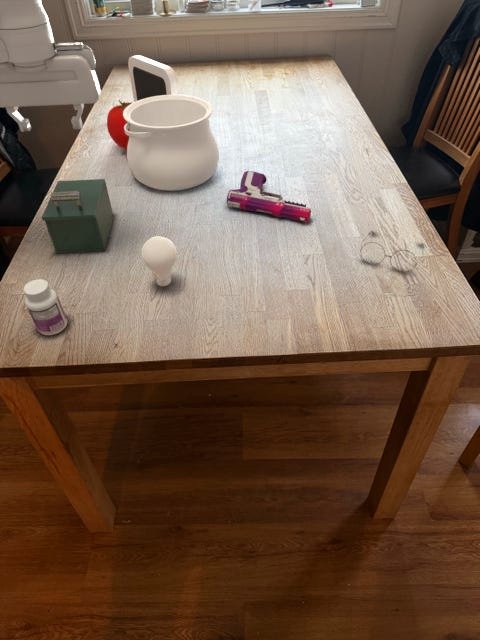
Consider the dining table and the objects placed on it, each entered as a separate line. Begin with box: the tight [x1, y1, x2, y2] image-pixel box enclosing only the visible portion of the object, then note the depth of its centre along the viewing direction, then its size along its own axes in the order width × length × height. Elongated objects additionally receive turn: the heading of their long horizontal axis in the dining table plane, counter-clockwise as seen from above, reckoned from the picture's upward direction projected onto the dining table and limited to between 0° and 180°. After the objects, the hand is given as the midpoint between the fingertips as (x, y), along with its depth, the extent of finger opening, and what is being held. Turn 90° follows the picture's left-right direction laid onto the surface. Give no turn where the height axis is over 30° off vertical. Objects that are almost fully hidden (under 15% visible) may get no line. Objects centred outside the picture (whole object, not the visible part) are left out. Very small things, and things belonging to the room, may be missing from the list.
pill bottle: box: [23, 278, 68, 336], centre depth 79 cm, size 5×5×10 cm
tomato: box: [106, 99, 134, 151], centre depth 131 cm, size 12×12×13 cm
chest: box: [44, 181, 114, 254], centre depth 101 cm, size 15×11×9 cm
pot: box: [123, 94, 220, 192], centre depth 118 cm, size 26×24×17 cm
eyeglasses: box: [359, 230, 425, 273], centre depth 95 cm, size 11×13×5 cm
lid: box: [41, 178, 106, 222], centre depth 96 cm, size 15×11×5 cm
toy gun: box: [226, 170, 312, 223], centre depth 111 cm, size 4×22×15 cm
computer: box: [127, 54, 180, 103], centre depth 132 cm, size 22×22×3 cm
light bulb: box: [141, 235, 178, 288], centre depth 87 cm, size 7×7×11 cm
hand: (52, 129), depth 83 cm, fingers open, 8 cm apart
